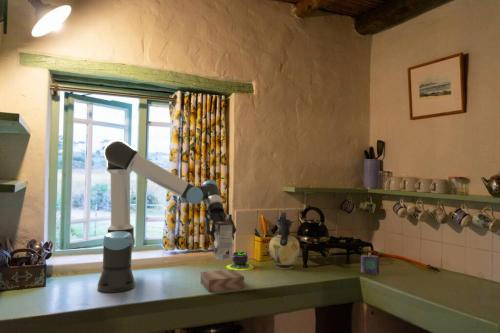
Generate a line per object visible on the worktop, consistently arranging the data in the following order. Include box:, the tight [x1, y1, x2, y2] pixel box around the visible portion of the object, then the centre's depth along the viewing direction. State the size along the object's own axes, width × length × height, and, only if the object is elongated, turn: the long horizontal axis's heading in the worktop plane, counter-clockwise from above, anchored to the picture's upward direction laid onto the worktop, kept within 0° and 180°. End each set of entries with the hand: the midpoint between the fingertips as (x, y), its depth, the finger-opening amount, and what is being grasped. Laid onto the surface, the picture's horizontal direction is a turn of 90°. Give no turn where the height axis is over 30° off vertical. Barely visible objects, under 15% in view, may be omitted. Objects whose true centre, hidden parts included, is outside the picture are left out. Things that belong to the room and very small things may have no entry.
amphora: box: [268, 211, 301, 270], centre depth 196 cm, size 18×17×30 cm
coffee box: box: [212, 220, 233, 261], centre depth 160 cm, size 9×6×16 cm
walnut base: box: [200, 269, 245, 293], centre depth 159 cm, size 16×14×5 cm
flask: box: [360, 252, 380, 275], centre depth 186 cm, size 9×3×11 cm, turn 79°
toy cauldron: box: [226, 246, 255, 271], centre depth 194 cm, size 15×15×11 cm
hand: (225, 246), depth 156 cm, fingers closed on coffee box, 6 cm apart
